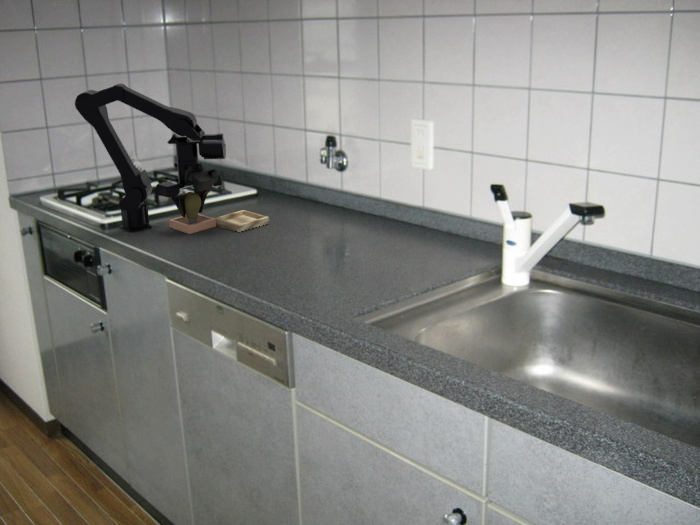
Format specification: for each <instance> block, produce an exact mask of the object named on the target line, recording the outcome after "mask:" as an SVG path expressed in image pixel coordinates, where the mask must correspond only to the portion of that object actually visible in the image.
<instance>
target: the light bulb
mask: <svg viewBox="0 0 700 525" xmlns="http://www.w3.org/2000/svg"><path fill="white" fill-rule="evenodd" d="M184 194H186V195H187V196H186V197H185V211H186V217H187V218H188V223H187V224H188V225H191V224H195V223H198V222H197V217H198V214H199V209H200V207H201V199H200V197H199V195H198V194H196V193H194V191H188V192H186V193H184Z"/></svg>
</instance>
